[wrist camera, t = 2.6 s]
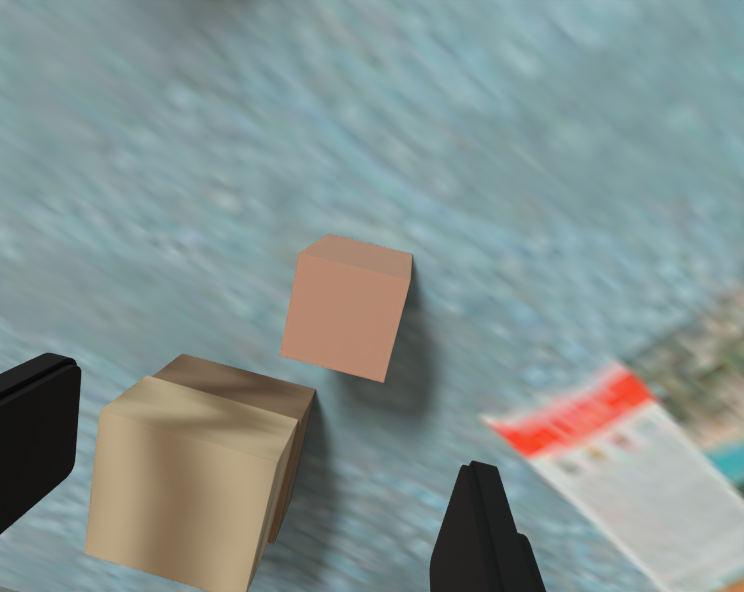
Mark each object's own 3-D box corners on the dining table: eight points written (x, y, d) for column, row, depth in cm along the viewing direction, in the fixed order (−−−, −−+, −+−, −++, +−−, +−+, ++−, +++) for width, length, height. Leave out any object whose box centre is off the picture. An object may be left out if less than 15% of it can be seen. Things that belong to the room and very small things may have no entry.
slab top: (298, 419, 26) (277, 463, 22) (267, 543, 28) (243, 601, 24) (147, 375, 26) (99, 410, 22) (129, 501, 28) (84, 553, 24)
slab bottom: (316, 387, 29) (301, 418, 26) (290, 499, 32) (273, 543, 28) (184, 352, 30) (149, 378, 26) (169, 465, 32) (135, 505, 28)
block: (412, 254, 26) (410, 280, 20) (391, 332, 28) (383, 382, 21) (329, 233, 26) (299, 253, 20) (313, 312, 28) (279, 355, 21)
